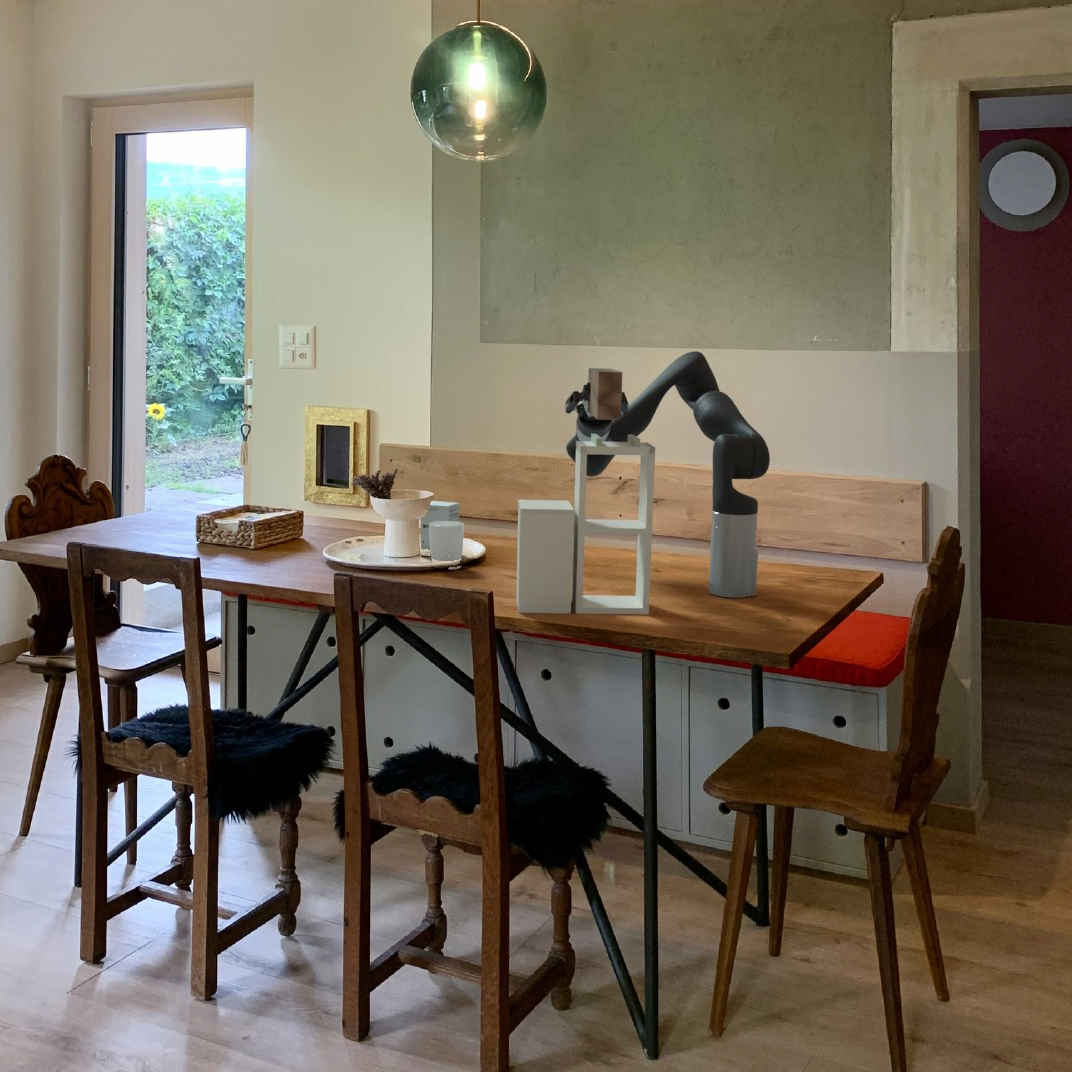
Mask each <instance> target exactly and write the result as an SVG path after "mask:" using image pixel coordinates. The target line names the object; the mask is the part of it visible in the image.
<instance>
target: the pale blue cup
mask: <svg viewBox="0 0 1072 1072" xmlns="http://www.w3.org/2000/svg"><path fill="white" fill-rule="evenodd" d="M429 534H430V555H431V557H430V559H434V560H438V561H454V560H459V559H461V560H462V556H463V550H464V549H463V548H464V534H465V523H464V522H460V521H459V522H454V521H437V522H431V523H429ZM461 567H462V565H461V566H457V567H449V568H448V569H449V570H451V571H452V570H458V569H461Z"/></svg>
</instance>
